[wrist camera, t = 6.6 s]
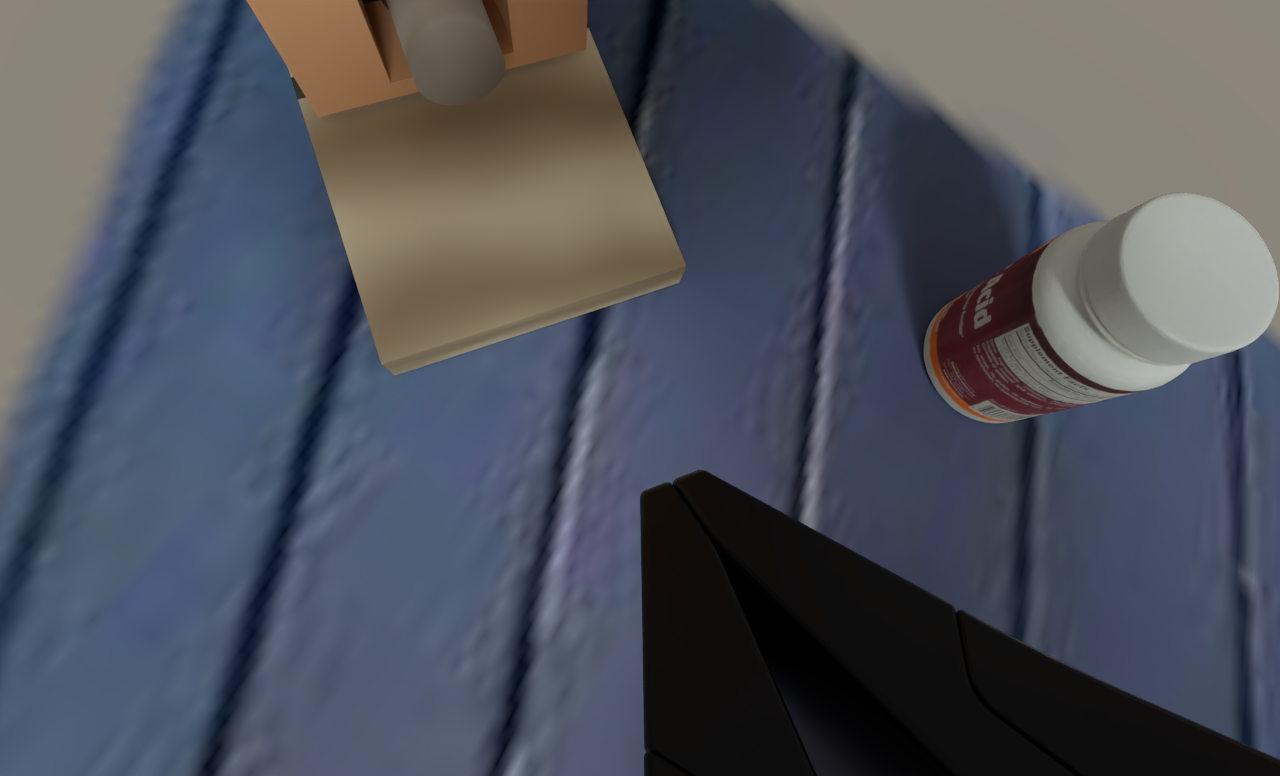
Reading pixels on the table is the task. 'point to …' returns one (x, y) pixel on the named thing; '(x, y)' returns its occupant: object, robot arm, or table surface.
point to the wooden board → (397, 44)
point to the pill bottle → (1104, 311)
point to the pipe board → (488, 192)
